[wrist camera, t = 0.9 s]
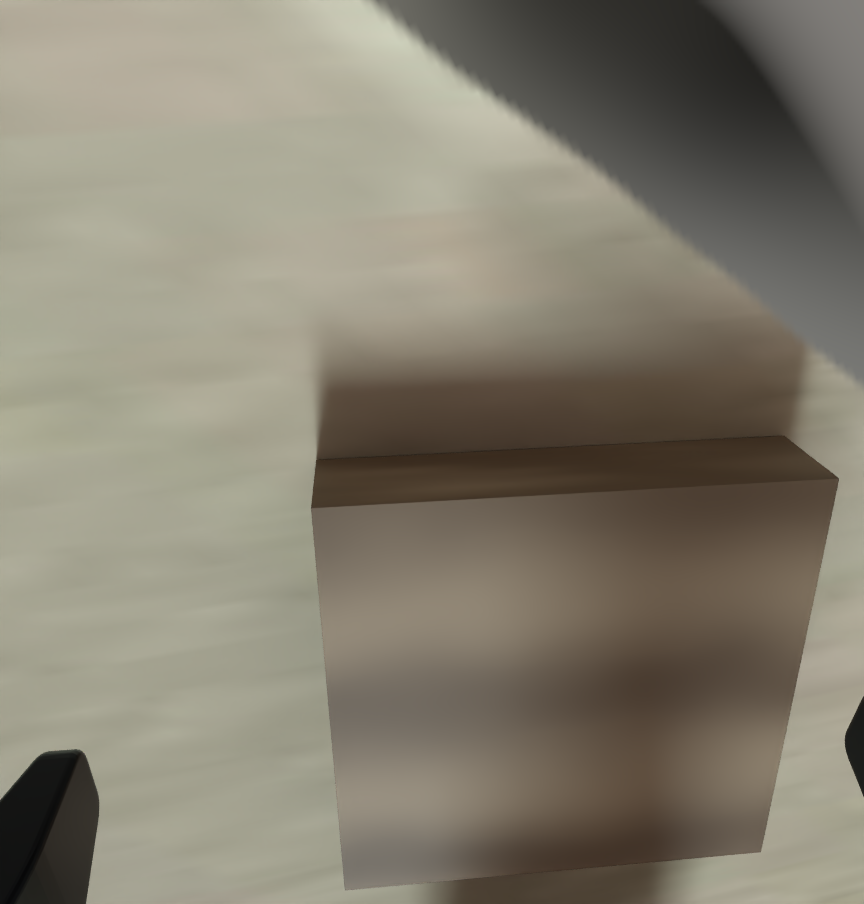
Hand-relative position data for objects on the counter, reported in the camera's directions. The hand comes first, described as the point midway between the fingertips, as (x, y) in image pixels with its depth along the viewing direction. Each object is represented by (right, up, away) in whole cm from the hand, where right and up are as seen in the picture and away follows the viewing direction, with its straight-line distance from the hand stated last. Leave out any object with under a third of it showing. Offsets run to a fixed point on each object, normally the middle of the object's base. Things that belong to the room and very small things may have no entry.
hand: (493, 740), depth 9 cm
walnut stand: (+3, -3, +17) cm, 18 cm away
